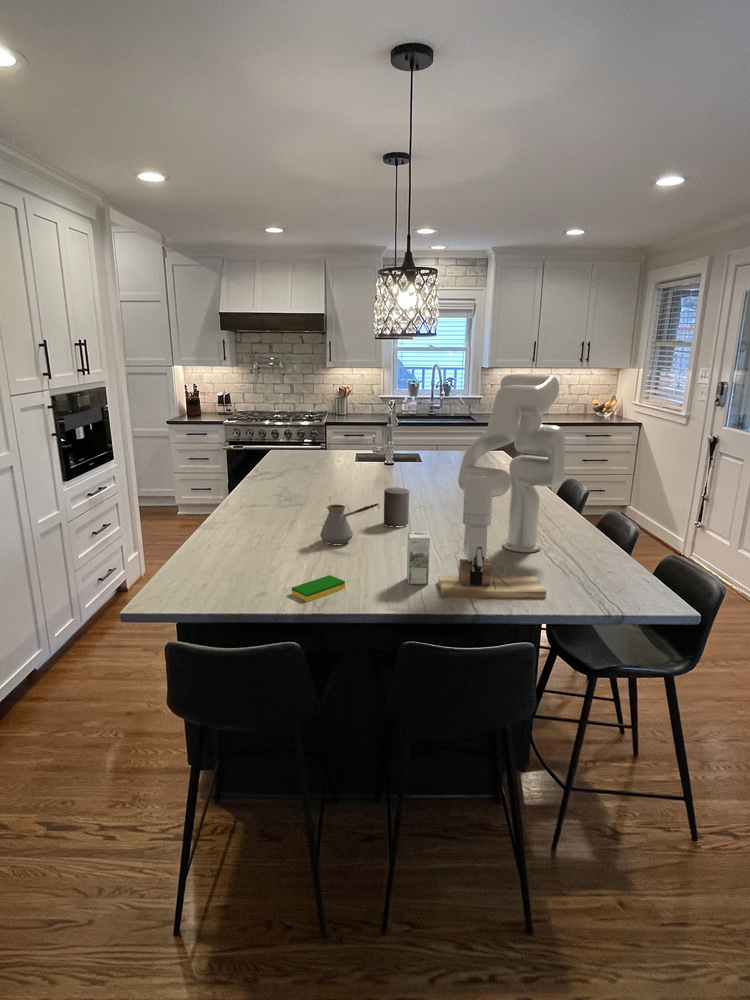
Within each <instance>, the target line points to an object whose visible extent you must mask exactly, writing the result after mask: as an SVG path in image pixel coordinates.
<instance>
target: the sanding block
mask: <svg viewBox="0 0 750 1000" xmlns="http://www.w3.org/2000/svg"><path fill="white" fill-rule="evenodd" d="M474 560H477V559H474ZM475 564H477V563H474V566H475ZM458 565H459V566H458V576H459V581H460V584H461V585H471V584H470V572H471V571H472V561H470V562H469V561H468V560H467V559H466V558H463V559H462V558H461V559H460V558H459V564H458ZM482 571H483V573H482V585H490V578H491V575H492V564H491V562H490V561H489V559H488V558H486V560H485V561H484V562H482Z"/></svg>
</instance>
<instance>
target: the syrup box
mask: <svg viewBox="0 0 750 1000" xmlns="http://www.w3.org/2000/svg"><path fill="white" fill-rule="evenodd" d="M430 542H431V541H430V536H429V532H428V531H407V560H406V562H407V563H406V579H407V582H408V585H412V586H413V585H416V586H417V585H418V586H419V585H429V574H430V573H429V569H430V568H429V567H430V566H429V565H430V544H431V543H430Z"/></svg>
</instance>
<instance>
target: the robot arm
mask: <svg viewBox="0 0 750 1000" xmlns="http://www.w3.org/2000/svg"><path fill="white" fill-rule="evenodd" d="M559 391H560V383H559V380H558V378H557V377H556V376H555V375H550V374H530V373H529V374H528V373H527V374H526V373H523V374H522V373H516V374H515V373H514V374H507V375H505V376H504V377H502V379H501V380H500V388H499V389H498V390H497V392H496V395H495V398H494V401H493V405H492V410H491V413H490V417H489V421H488V425H487V427H486V430H485V432H484V433H483V434H482V435H480V436H478V438H476V439H475V440H474V442H473V443H472V444H470V446H469V447H468V448H467V450H466V451H465V453H464V455H463V458H462V462H461V465H460V468H459V474H458V481H457V483H458V486H459V488H460V489H461V490H462V491H463V513H462V515H463V516H462V523H463V525H464V532H463V533H464V534H463V547H462V549H463V551H462V552H463V554H464V557H465V559H467V560H468V561H469V562H470V561H472V571H471V572H470V584H471V585H482V573H483V571H482V562H484V561H485V560H486V559H487V552H488V527H490V526H491V524H492V513H493V512H492V509H493V498H495V497H502V496H503V495H506V493H507V492H508V491H509V490H510V497H509V498H510V501H509V512H508V513H509V514H508V515H509V517H508V528H507V529H508V531H507V533H508V534H507V539H504V541H503V542H502V547H503V548H504V549H507V550H509V551H512V552H516V553H535V552H538V551H541V548H542V544H541V542H538V541H537V540H538V524H539V512H540V511H539V510H540V500H541V499H540V494H539V493H538V490H537V488H535V486H538V487H546V488H558V487H559V486H561V485H562V483H563V482H564V478H565V463H566V462H565V461H566V434H565V432H564V430H563V427H561V426H558V425H555V424H553V425H552V424H543V423H542V415H543V414H545V413H546V412H547V411H548V409H550V407H551V406H552V405H553V404H554V403H555V402H556V400H557V398H558V396H559V393H560V392H559ZM513 442H514V443H513ZM509 444H514V448H515V450H516V451H517V452H520V453H525V454H526V455H523V454H522V455H517V456H515V457H513V458H512V459H511V461H510V462H509V467H508V468H509V469H508V471H509V472H507V471H506V470H504V469H500V468H492V467H486V466H478V465H477V466H476V464H477V462H478V461H479V460H480V458H481V457H482V456H484V455H486V454H487V453H489V452H491V451H493V450H496V449H499V448H502V447H505V446H508V445H509ZM527 454H530V455H527ZM531 454H532V455H531ZM539 455H541V456H539ZM542 455H543V456H542ZM474 559H477V560H474ZM474 563H477V564H475V566H474Z"/></svg>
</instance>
